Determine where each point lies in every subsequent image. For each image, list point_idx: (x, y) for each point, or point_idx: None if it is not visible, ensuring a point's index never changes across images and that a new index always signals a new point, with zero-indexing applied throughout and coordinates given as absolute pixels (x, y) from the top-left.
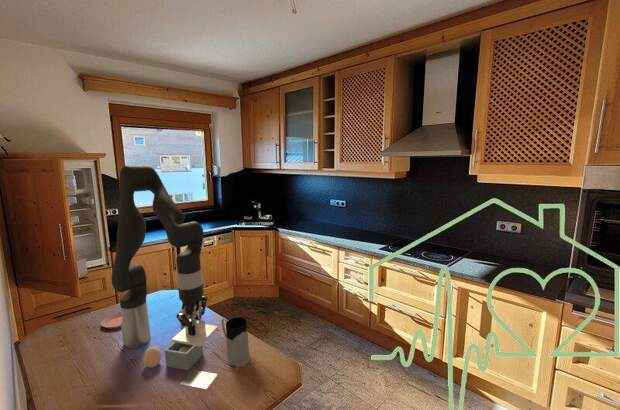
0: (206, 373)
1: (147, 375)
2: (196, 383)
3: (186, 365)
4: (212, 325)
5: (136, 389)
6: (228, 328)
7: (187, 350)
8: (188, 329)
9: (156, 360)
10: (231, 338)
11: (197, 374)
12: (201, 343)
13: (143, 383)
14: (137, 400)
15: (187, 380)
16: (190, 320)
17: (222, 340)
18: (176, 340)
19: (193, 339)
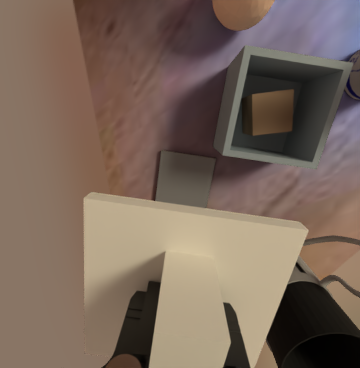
0: (203, 201)
1: (191, 19)
2: (167, 191)
3: (216, 143)
4: (259, 351)
5: (132, 24)
6: (287, 345)
7: (270, 125)
8: (121, 330)
9: (226, 23)
10: None
11: (198, 180)
12: (96, 353)
13: (157, 30)
14: (97, 59)
15: (174, 164)
16: (190, 364)
17: (353, 184)
18: (84, 231)
19: (114, 314)
